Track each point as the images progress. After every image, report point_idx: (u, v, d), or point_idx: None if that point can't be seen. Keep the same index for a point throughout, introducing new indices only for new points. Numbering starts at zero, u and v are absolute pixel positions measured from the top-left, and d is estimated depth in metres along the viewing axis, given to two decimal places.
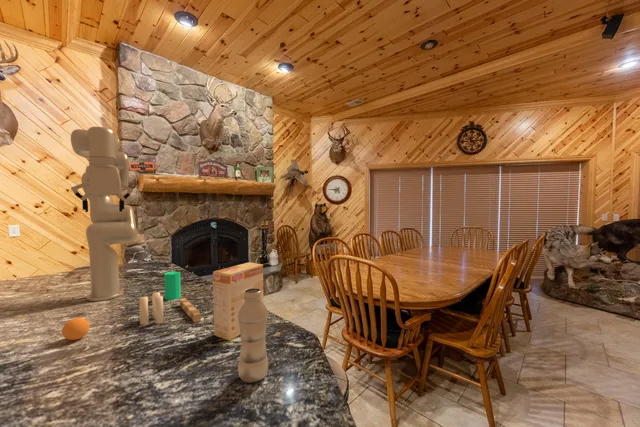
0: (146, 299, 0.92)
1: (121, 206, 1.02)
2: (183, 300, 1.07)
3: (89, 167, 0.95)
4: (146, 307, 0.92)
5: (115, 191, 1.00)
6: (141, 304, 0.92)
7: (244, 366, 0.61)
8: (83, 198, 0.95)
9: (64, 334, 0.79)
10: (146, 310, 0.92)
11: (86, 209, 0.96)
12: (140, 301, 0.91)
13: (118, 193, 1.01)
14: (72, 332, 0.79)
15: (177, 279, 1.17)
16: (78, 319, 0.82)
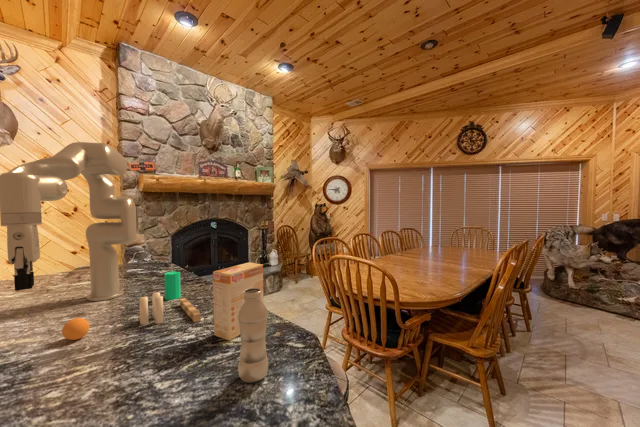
0: (146, 299, 0.92)
1: (14, 283, 0.73)
2: (183, 300, 1.07)
3: None
4: (146, 307, 0.92)
5: None
6: (141, 304, 0.92)
7: (244, 366, 0.61)
8: None
9: (64, 334, 0.79)
10: (146, 310, 0.92)
11: None
12: (140, 301, 0.91)
13: (10, 262, 0.71)
14: (72, 332, 0.79)
15: (177, 279, 1.17)
16: (78, 319, 0.82)
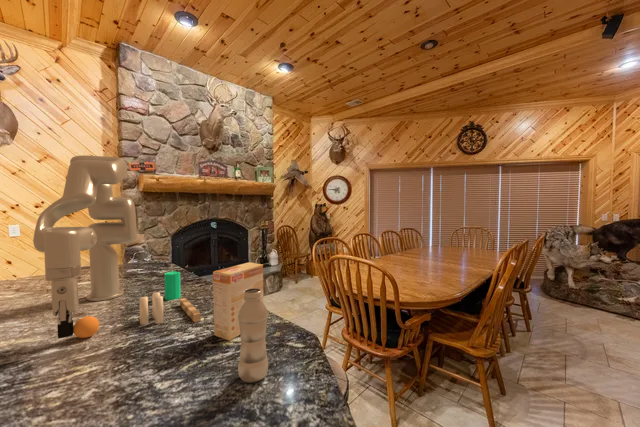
0: (146, 299, 0.92)
1: None
2: (183, 300, 1.07)
3: None
4: (146, 307, 0.92)
5: (53, 312, 0.76)
6: (141, 304, 0.92)
7: (244, 366, 0.61)
8: None
9: (76, 327, 0.80)
10: (146, 310, 0.92)
11: None
12: (140, 301, 0.91)
13: None
14: (84, 330, 0.81)
15: (177, 279, 1.17)
16: (95, 319, 0.84)
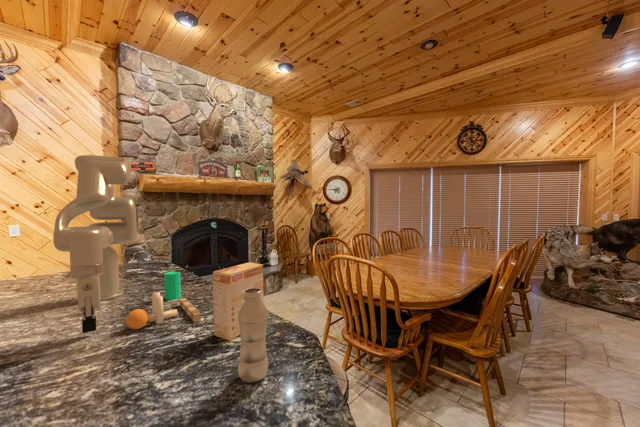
0: (175, 315, 0.98)
1: (82, 327, 0.83)
2: (183, 300, 1.07)
3: None
4: (167, 317, 0.96)
5: None
6: (171, 312, 0.97)
7: (244, 366, 0.61)
8: None
9: None
10: (164, 318, 0.96)
11: None
12: (174, 311, 0.98)
13: (80, 311, 0.79)
14: (136, 327, 0.87)
15: (177, 279, 1.17)
16: (126, 320, 0.87)
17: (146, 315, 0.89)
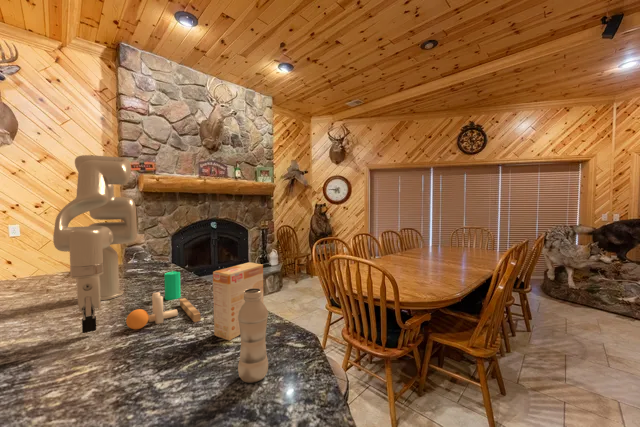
0: (175, 315, 0.98)
1: (82, 327, 0.83)
2: (183, 300, 1.07)
3: None
4: (167, 317, 0.96)
5: None
6: (171, 312, 0.97)
7: (244, 366, 0.61)
8: None
9: None
10: (164, 318, 0.96)
11: None
12: (174, 310, 0.98)
13: (80, 311, 0.79)
14: (136, 328, 0.87)
15: (177, 279, 1.17)
16: (126, 320, 0.87)
17: (146, 316, 0.89)
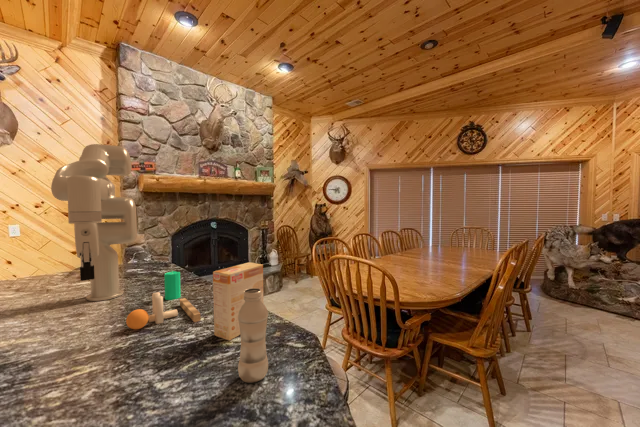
0: (175, 315, 0.98)
1: (80, 274, 0.82)
2: (183, 300, 1.07)
3: None
4: (167, 317, 0.96)
5: None
6: (171, 312, 0.97)
7: (244, 366, 0.61)
8: None
9: None
10: (164, 318, 0.96)
11: None
12: (174, 311, 0.98)
13: (78, 256, 0.79)
14: (136, 328, 0.87)
15: (177, 279, 1.17)
16: (126, 320, 0.87)
17: (146, 316, 0.89)
